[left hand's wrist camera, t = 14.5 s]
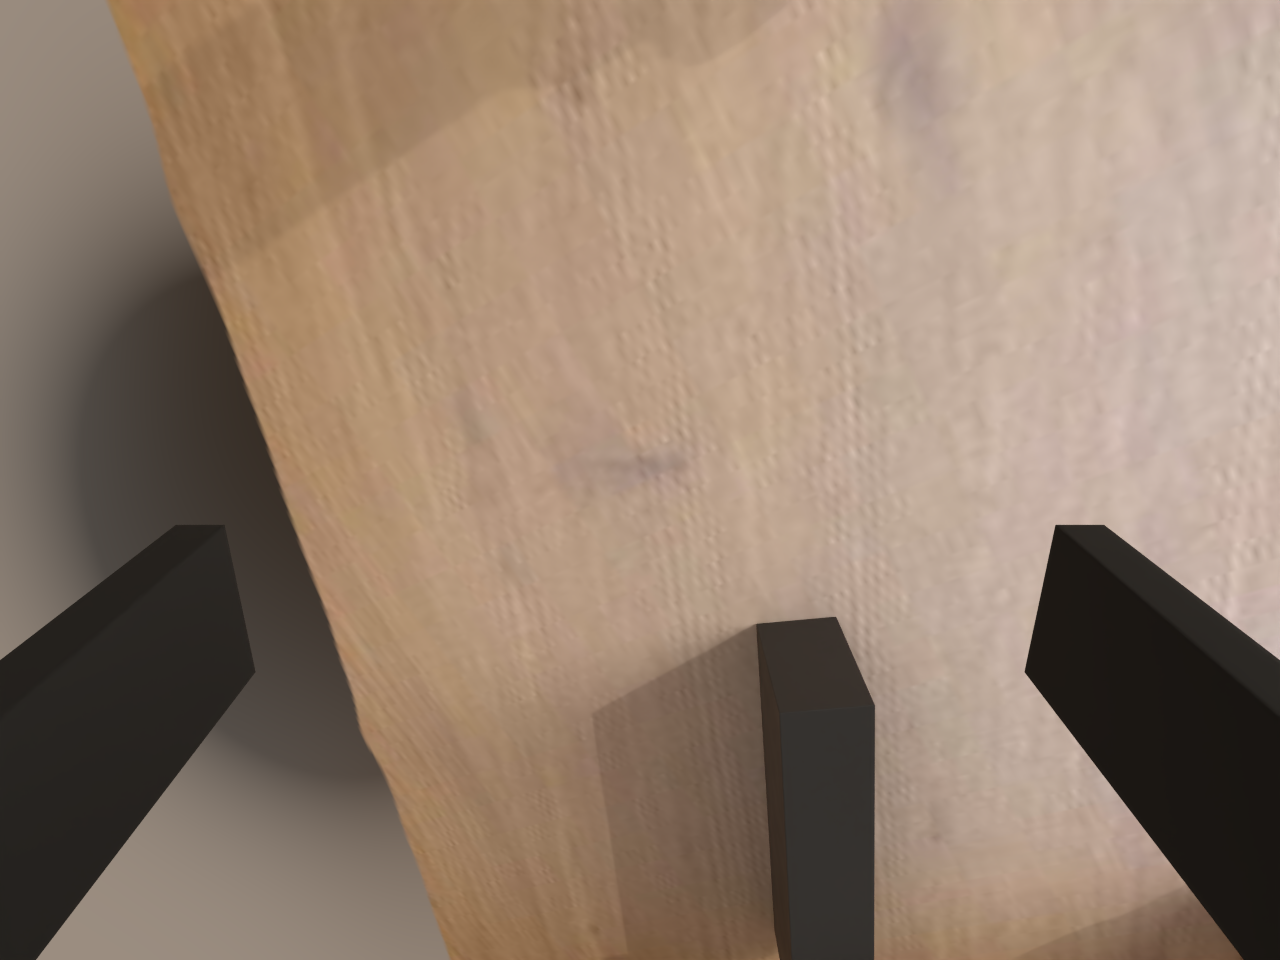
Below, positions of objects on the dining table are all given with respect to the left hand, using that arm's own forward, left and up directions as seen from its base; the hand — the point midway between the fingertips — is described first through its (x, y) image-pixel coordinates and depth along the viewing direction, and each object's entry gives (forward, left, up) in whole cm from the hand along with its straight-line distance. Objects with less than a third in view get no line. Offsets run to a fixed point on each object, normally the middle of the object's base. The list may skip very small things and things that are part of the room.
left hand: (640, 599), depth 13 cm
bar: (+32, +11, -30) cm, 45 cm away
